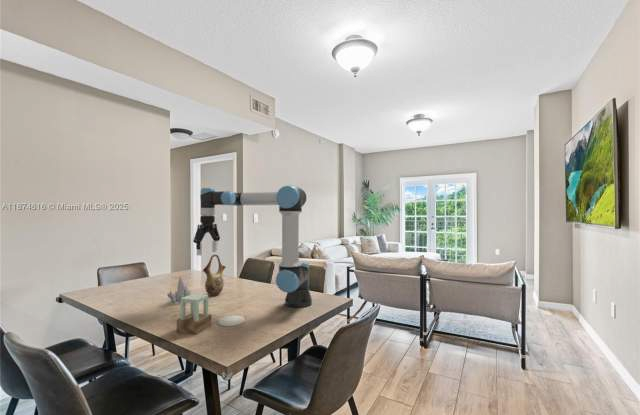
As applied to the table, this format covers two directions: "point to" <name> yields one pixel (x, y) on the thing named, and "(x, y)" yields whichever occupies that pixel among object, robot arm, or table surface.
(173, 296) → the crystal
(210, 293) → the ceramic vessel
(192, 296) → the stool
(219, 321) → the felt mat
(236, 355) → the table surface
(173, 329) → the table surface
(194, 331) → the walnut box
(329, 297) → the table surface
